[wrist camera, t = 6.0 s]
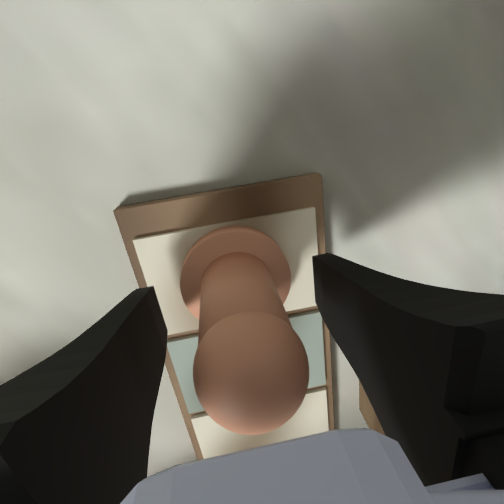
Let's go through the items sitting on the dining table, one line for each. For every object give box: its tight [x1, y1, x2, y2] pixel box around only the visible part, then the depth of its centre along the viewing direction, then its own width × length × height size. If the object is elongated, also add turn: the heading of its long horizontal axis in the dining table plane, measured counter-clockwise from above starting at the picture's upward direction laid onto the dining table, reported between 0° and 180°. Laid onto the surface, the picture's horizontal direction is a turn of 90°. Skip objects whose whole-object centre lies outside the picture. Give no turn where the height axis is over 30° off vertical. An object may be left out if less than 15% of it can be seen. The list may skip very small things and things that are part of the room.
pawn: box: [180, 225, 309, 435], centre depth 10 cm, size 4×4×7 cm
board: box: [113, 173, 334, 460], centre depth 16 cm, size 8×22×1 cm, turn 8°
